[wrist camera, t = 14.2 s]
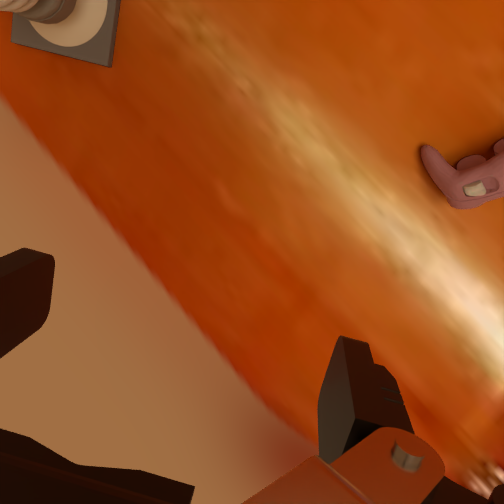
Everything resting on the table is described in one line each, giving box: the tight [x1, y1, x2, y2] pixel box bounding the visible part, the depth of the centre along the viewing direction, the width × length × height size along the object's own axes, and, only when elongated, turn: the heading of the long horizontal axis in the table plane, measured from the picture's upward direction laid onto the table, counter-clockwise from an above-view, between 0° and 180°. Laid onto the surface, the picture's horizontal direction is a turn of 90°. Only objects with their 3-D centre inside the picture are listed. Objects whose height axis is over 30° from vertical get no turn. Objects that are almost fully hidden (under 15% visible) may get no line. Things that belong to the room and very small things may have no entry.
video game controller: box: [421, 138, 504, 209], centre depth 36 cm, size 10×5×7 cm, turn 120°
